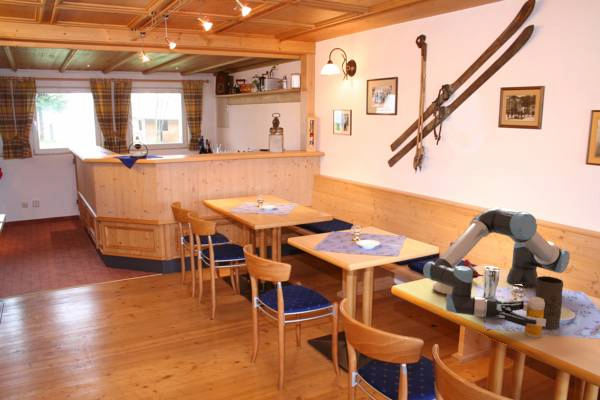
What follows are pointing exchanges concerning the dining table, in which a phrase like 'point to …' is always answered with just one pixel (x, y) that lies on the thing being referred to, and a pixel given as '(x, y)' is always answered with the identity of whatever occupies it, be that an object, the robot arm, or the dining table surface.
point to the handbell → (443, 286)
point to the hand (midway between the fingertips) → (543, 316)
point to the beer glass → (490, 281)
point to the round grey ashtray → (497, 303)
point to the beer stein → (550, 299)
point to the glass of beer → (534, 315)
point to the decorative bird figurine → (475, 273)
